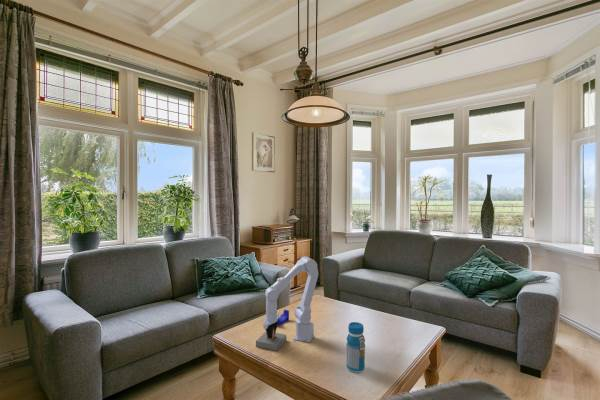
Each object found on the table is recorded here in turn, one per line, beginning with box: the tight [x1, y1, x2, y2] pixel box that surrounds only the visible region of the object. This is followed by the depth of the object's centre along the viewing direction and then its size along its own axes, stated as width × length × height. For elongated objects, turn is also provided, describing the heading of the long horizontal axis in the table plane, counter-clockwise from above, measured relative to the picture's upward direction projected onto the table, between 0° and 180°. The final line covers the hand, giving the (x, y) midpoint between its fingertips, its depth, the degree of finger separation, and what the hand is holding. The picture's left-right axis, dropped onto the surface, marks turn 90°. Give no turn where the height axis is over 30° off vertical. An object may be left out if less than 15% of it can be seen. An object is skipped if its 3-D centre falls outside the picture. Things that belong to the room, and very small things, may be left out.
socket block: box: [255, 331, 287, 352], centre depth 165 cm, size 12×12×3 cm
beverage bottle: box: [345, 321, 366, 374], centre depth 142 cm, size 8×8×20 cm
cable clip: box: [277, 309, 290, 327], centre depth 191 cm, size 12×4×6 cm, turn 145°
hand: (271, 336), depth 164 cm, fingers closed on plug peg, 3 cm apart
